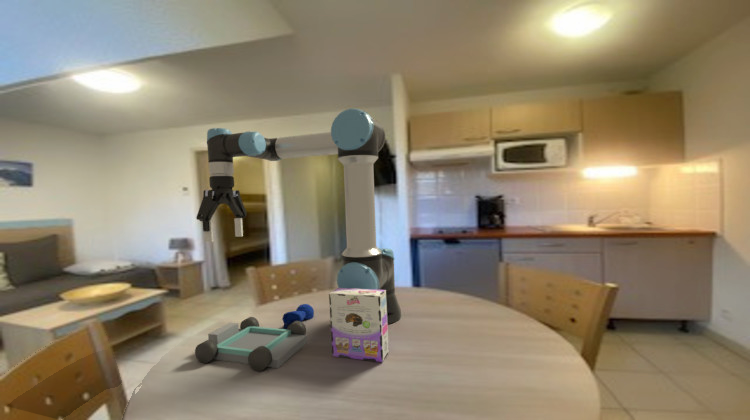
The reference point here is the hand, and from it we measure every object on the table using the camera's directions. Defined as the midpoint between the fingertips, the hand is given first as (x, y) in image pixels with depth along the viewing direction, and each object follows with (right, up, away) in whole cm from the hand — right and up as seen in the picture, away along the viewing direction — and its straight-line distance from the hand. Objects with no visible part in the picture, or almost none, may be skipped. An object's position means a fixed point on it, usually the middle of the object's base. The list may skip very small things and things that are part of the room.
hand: (225, 239), depth 110 cm
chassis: (+18, -28, -22) cm, 40 cm away
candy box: (+47, -27, -27) cm, 61 cm away
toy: (+26, -28, -3) cm, 38 cm away
